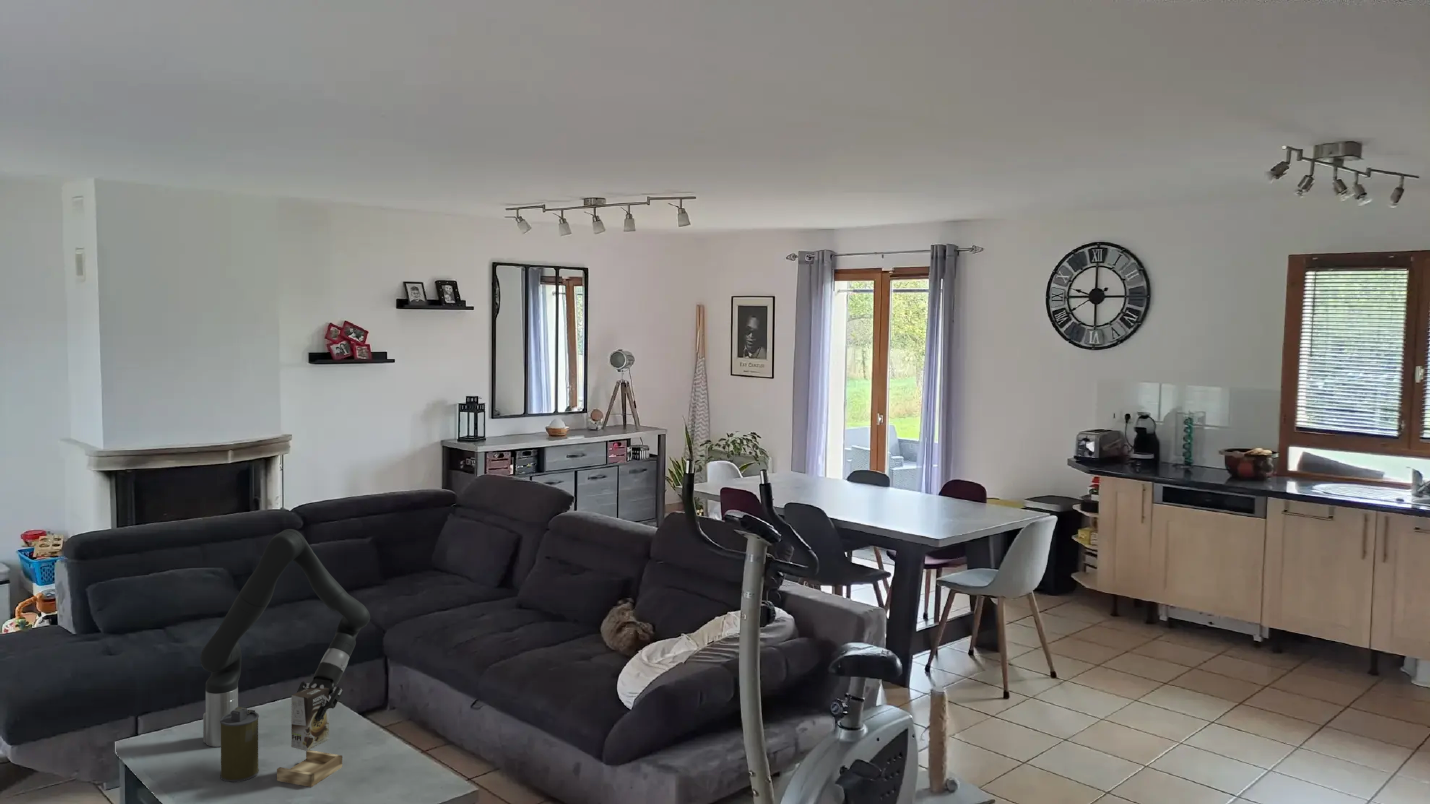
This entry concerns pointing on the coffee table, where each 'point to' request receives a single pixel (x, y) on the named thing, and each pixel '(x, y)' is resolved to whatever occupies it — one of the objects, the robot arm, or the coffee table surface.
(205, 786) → the coffee table surface
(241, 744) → the canister
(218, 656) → the robot arm
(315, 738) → the coffee box
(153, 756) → the coffee table surface
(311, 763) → the oak cradle
